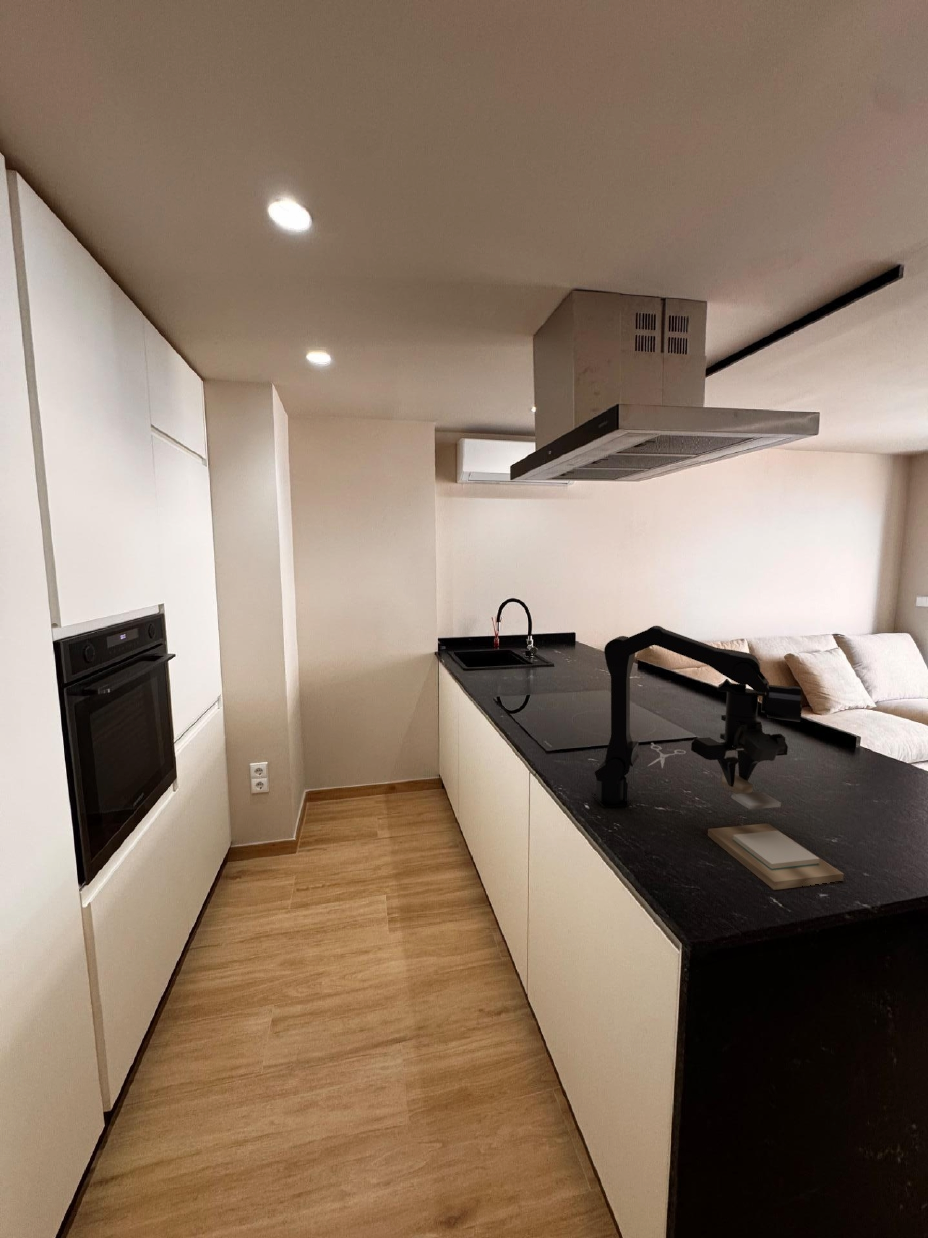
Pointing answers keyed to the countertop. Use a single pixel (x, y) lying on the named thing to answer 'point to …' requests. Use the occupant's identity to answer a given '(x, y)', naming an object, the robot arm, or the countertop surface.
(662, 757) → the scissors
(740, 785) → the turner
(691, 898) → the countertop surface
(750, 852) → the tile
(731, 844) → the oak board
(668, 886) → the countertop surface
